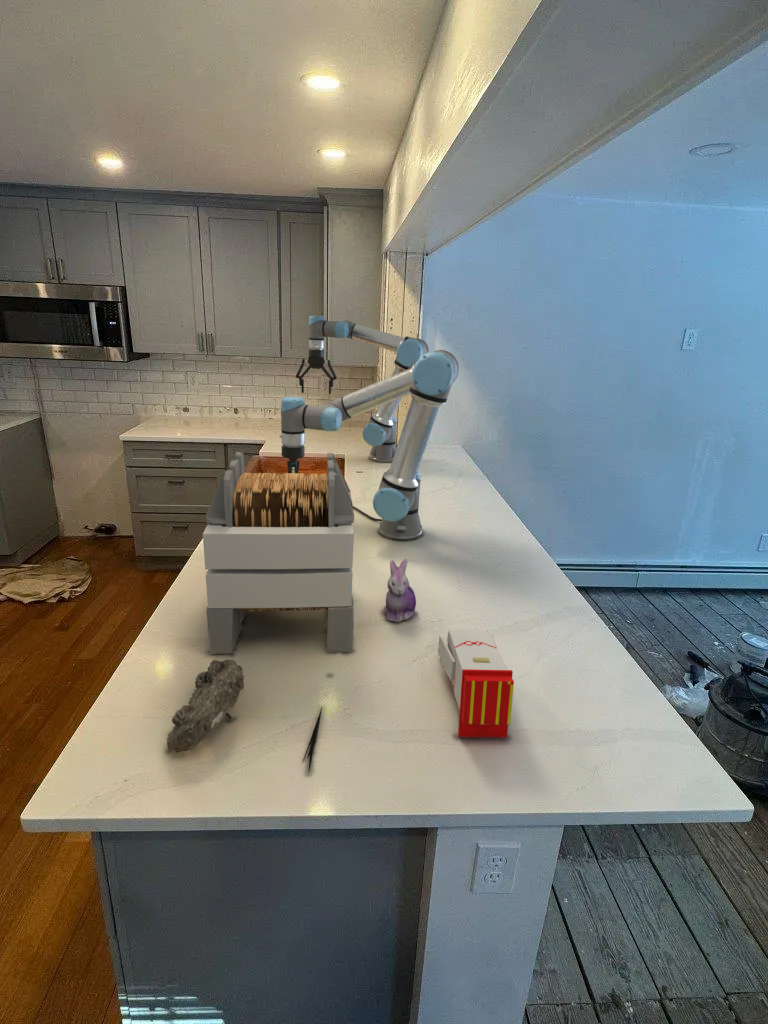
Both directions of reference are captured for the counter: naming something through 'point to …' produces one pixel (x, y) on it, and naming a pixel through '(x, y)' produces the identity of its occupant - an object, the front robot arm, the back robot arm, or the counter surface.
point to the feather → (313, 740)
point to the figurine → (399, 594)
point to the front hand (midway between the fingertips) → (293, 510)
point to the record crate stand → (279, 550)
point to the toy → (478, 682)
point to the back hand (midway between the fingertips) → (316, 393)
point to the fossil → (206, 705)
